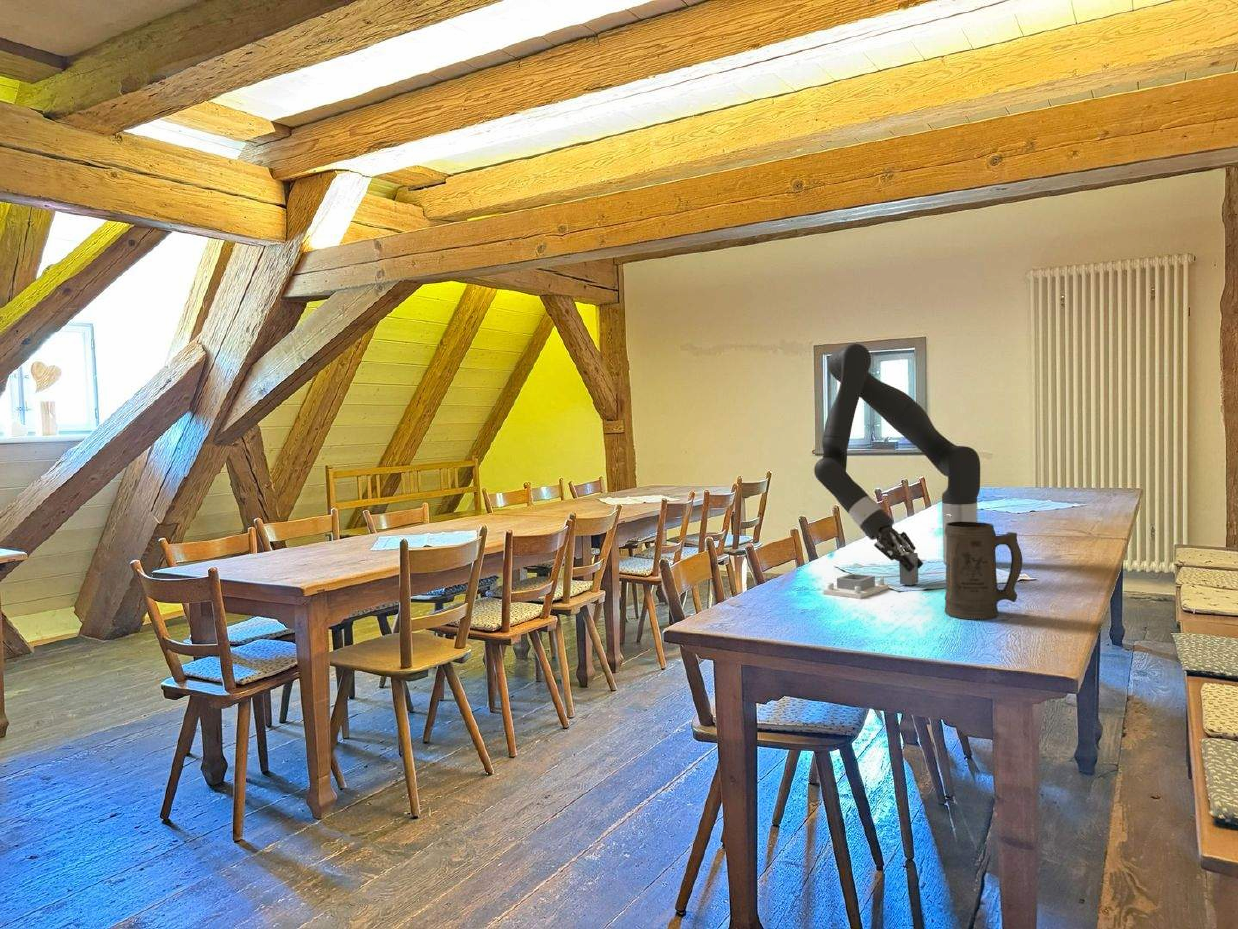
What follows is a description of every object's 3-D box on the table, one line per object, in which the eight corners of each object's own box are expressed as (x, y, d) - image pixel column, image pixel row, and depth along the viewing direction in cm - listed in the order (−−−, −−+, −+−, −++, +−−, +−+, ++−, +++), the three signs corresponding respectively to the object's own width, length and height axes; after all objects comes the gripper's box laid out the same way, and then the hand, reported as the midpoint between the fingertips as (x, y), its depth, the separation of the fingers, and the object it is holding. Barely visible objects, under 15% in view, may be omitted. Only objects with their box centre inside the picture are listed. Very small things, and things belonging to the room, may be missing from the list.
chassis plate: (852, 584, 217) (852, 570, 217) (888, 588, 210) (888, 574, 210) (823, 593, 207) (822, 579, 207) (860, 598, 200) (859, 584, 200)
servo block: (907, 581, 215) (906, 550, 215) (918, 582, 213) (917, 551, 213) (899, 583, 212) (898, 552, 212) (911, 585, 210) (910, 553, 210)
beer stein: (944, 619, 177) (949, 525, 176) (937, 607, 188) (942, 518, 186) (1023, 625, 174) (1028, 529, 172) (1012, 612, 184) (1017, 522, 183)
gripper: (865, 511, 212) (913, 563, 204) (892, 505, 222) (938, 554, 214) (847, 530, 216) (893, 582, 208) (874, 523, 226) (919, 572, 218)
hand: (916, 567), depth 211 cm, fingers closed on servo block, 4 cm apart
